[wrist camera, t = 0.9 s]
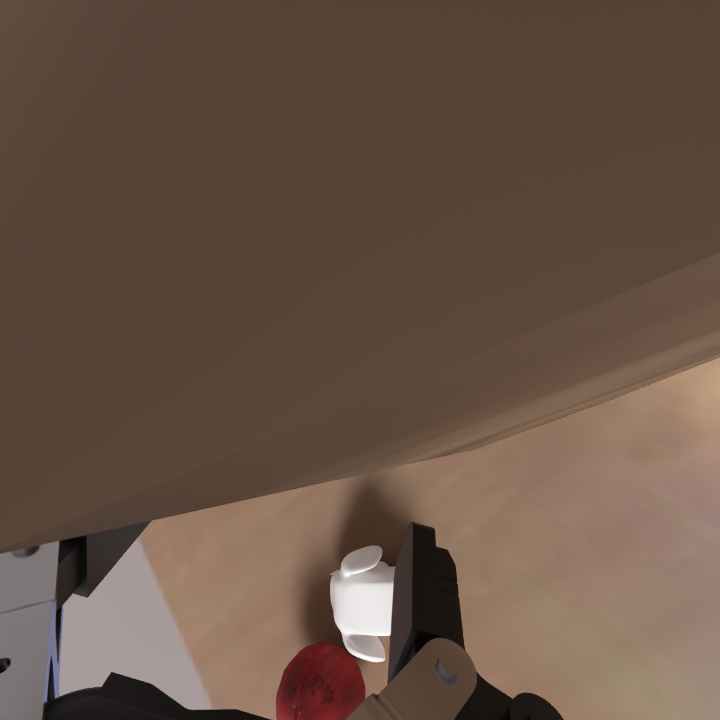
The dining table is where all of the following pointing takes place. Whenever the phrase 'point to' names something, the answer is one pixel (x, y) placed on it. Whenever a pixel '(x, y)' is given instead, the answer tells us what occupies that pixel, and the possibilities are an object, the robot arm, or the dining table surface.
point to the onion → (320, 685)
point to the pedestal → (335, 237)
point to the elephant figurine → (363, 602)
